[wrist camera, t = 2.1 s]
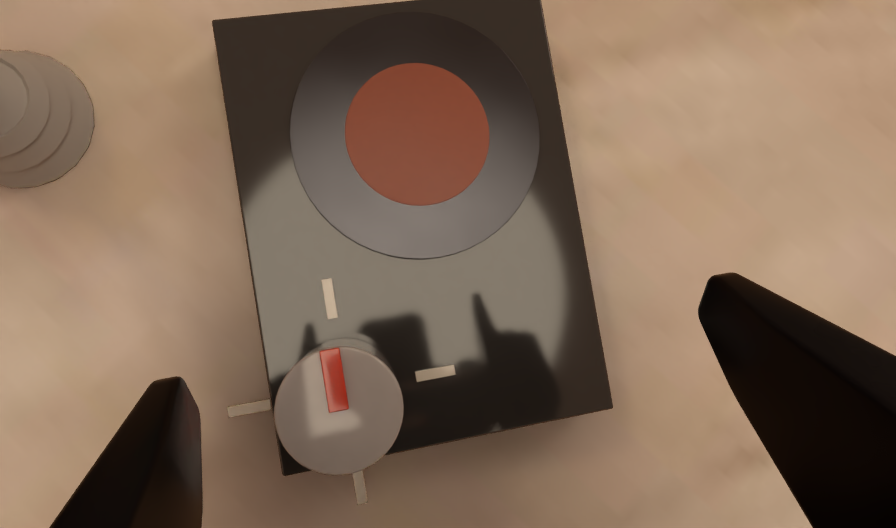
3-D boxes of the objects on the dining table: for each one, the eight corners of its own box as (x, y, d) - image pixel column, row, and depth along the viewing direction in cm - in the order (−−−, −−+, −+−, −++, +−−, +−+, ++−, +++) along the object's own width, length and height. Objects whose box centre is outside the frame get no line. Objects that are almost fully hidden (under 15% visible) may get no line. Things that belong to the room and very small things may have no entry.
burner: (557, 238, 22) (559, 238, 22) (311, 278, 21) (311, 277, 21) (516, 2, 23) (517, -1, 22) (271, 27, 21) (270, 24, 21)
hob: (600, 434, 24) (622, 447, 22) (256, 507, 22) (245, 529, 20) (525, 12, 25) (540, -16, 23) (186, 47, 23) (167, 21, 21)
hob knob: (404, 431, 21) (414, 464, 17) (299, 452, 21) (282, 492, 16) (387, 329, 21) (393, 336, 17) (283, 347, 21) (262, 359, 16)
